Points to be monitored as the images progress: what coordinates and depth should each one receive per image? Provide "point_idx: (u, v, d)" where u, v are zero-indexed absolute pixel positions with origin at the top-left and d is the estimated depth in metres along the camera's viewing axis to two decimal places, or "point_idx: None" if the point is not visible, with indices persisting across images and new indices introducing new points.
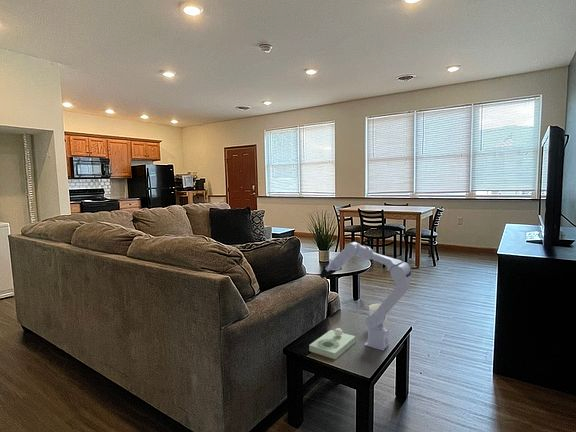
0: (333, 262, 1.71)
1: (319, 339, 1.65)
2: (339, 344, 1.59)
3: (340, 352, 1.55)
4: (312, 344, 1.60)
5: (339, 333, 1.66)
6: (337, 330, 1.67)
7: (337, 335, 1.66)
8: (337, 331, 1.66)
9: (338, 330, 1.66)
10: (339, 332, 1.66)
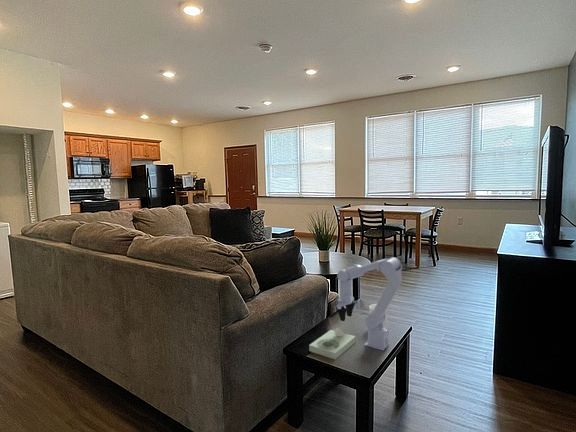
0: (341, 299, 1.71)
1: (319, 339, 1.65)
2: (339, 344, 1.59)
3: (340, 352, 1.55)
4: (312, 344, 1.60)
5: (339, 333, 1.66)
6: (337, 330, 1.67)
7: (337, 335, 1.66)
8: (337, 331, 1.66)
9: (338, 330, 1.66)
10: (339, 332, 1.66)
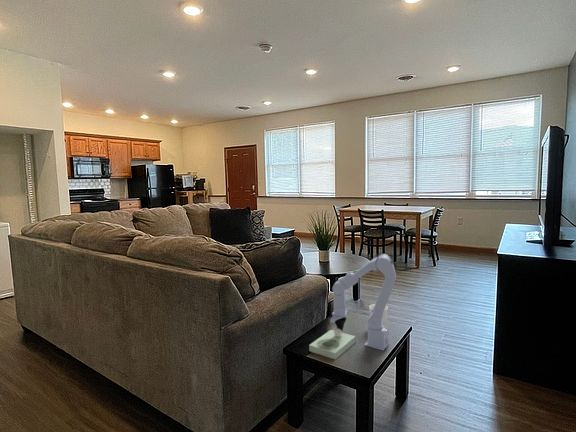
0: (335, 312, 1.67)
1: (319, 339, 1.65)
2: (339, 344, 1.59)
3: (340, 352, 1.55)
4: (312, 344, 1.60)
5: (339, 334, 1.66)
6: (336, 331, 1.66)
7: (337, 336, 1.66)
8: (336, 332, 1.66)
9: (337, 331, 1.66)
10: (338, 333, 1.66)
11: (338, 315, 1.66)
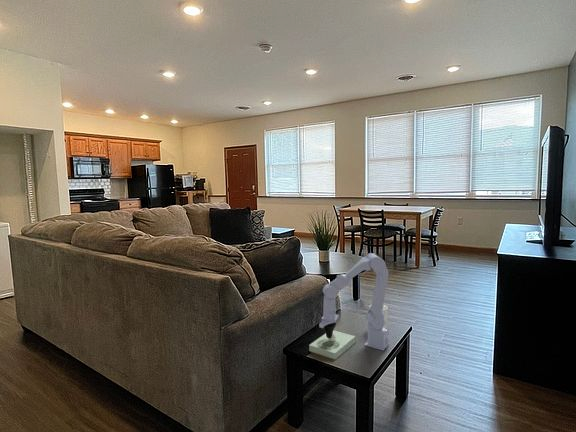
0: (324, 317, 1.60)
1: (319, 339, 1.65)
2: (339, 344, 1.59)
3: (340, 352, 1.55)
4: (312, 344, 1.60)
5: None
6: None
7: None
8: None
9: None
10: None
11: (327, 320, 1.58)
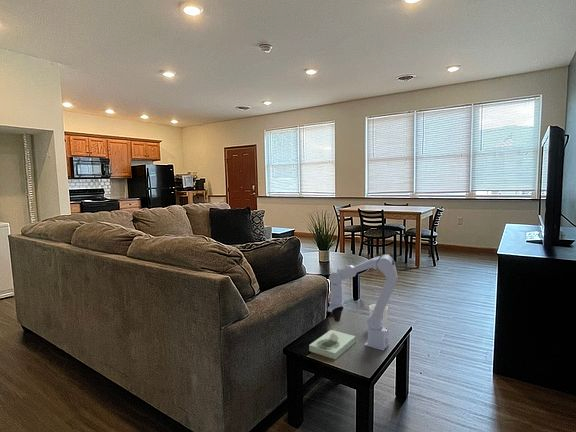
0: (332, 301, 1.68)
1: (319, 339, 1.65)
2: (339, 344, 1.59)
3: (340, 352, 1.55)
4: (312, 344, 1.60)
5: None
6: None
7: None
8: None
9: None
10: None
11: (335, 304, 1.67)
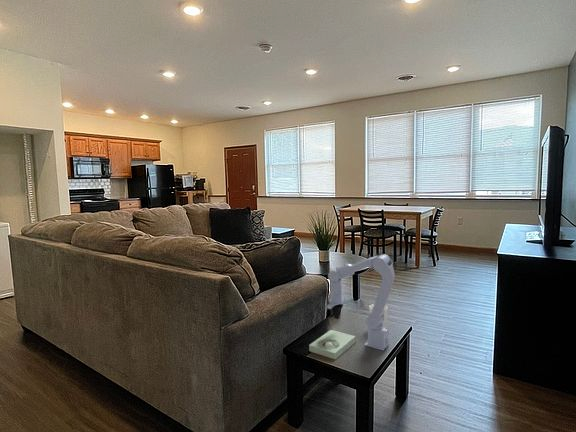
0: (331, 299, 1.72)
1: (319, 339, 1.65)
2: (339, 344, 1.59)
3: (340, 352, 1.55)
4: (312, 344, 1.60)
5: (326, 343, 1.61)
6: None
7: (326, 343, 1.59)
8: (325, 345, 1.61)
9: None
10: None
11: (335, 302, 1.70)
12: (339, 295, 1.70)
